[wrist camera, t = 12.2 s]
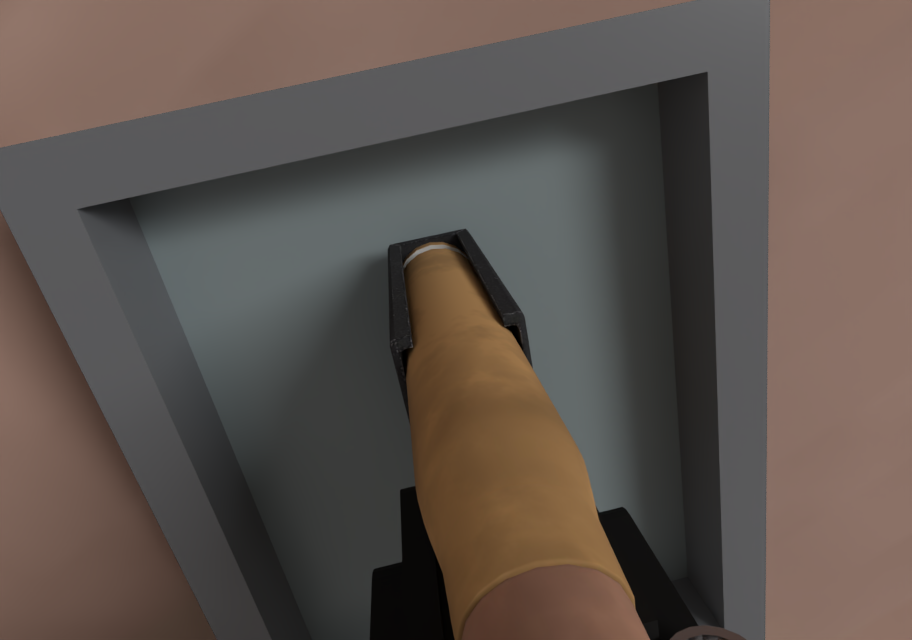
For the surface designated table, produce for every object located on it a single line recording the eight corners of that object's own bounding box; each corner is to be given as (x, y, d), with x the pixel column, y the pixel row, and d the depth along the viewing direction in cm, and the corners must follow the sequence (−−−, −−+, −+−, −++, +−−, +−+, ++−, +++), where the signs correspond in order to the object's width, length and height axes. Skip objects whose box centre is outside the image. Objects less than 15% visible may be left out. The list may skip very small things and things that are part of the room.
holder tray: (693, 12, 12) (769, -15, 10) (714, 580, 18) (765, 651, 16) (59, 146, 12) (-28, 153, 9) (300, 688, 18) (287, 778, 15)
